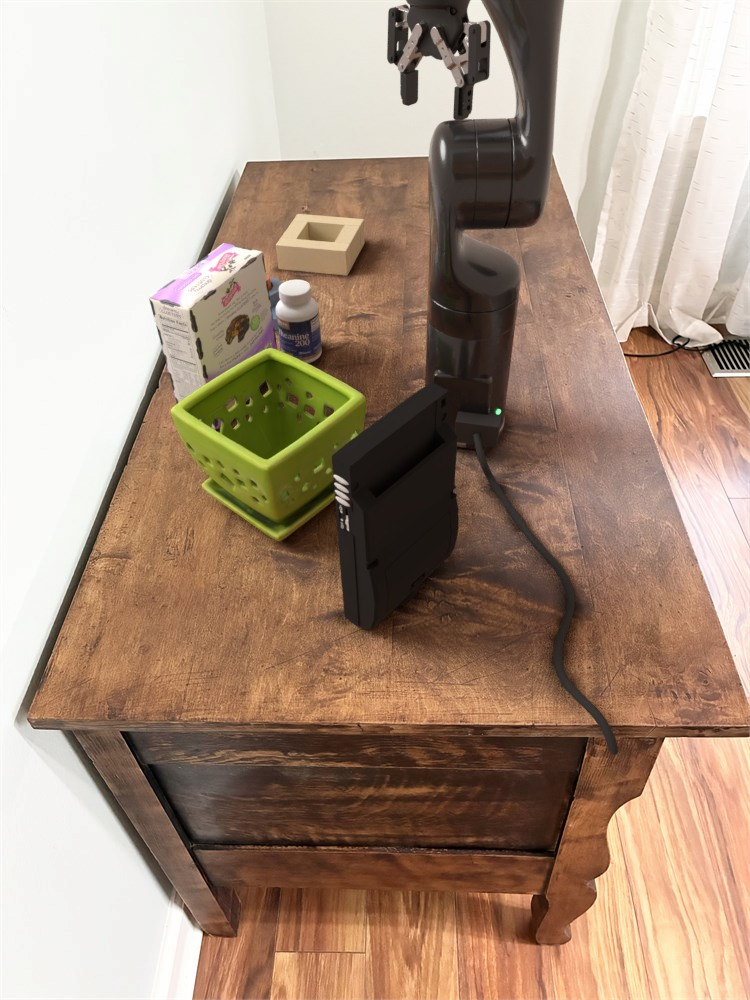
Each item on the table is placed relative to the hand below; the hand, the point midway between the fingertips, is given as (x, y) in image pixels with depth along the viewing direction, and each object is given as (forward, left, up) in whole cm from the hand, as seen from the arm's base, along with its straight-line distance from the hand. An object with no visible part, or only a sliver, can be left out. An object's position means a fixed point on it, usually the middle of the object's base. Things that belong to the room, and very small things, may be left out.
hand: (435, 111), depth 94 cm
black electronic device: (-56, -7, -25) cm, 62 cm away
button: (-10, +23, -21) cm, 32 cm away
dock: (+7, +19, -24) cm, 31 cm away
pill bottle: (-20, +14, -25) cm, 34 cm away
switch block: (-10, +23, -24) cm, 35 cm away
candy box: (-30, +20, -25) cm, 43 cm away
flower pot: (-46, +8, -25) cm, 53 cm away
